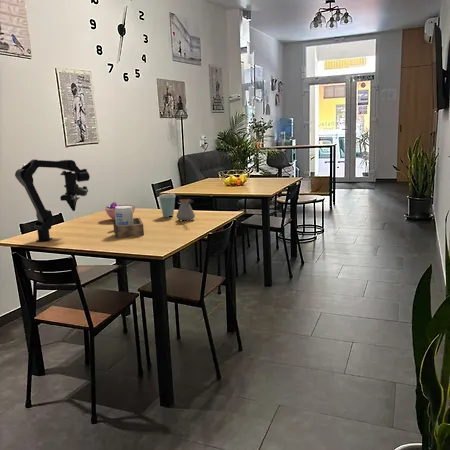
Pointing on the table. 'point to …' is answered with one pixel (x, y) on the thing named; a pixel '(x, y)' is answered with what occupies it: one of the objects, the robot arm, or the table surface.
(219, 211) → the table surface
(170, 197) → the disposable coffee cup
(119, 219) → the supplement tub
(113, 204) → the cell model
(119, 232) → the walnut crate
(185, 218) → the coffee pot
